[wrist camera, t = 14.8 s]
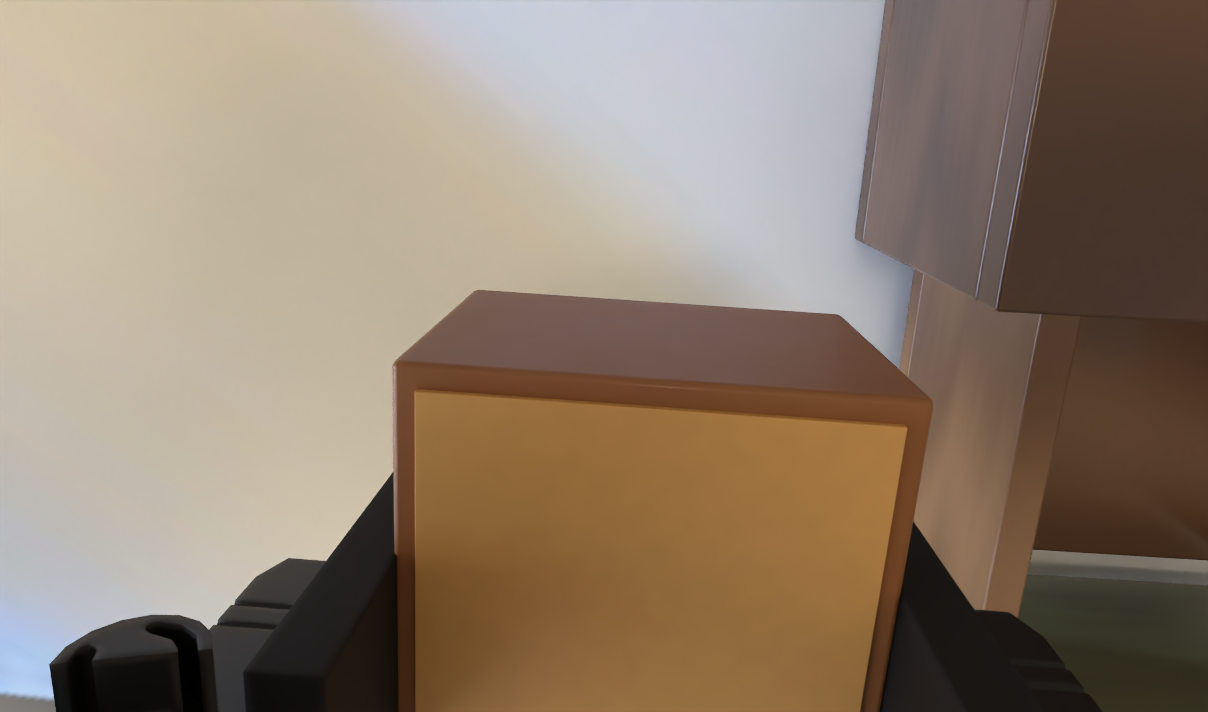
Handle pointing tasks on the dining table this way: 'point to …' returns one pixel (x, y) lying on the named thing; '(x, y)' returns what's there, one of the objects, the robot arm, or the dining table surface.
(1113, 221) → the cabinet
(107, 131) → the dining table surface
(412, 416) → the brown rectangular block
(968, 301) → the drawer
